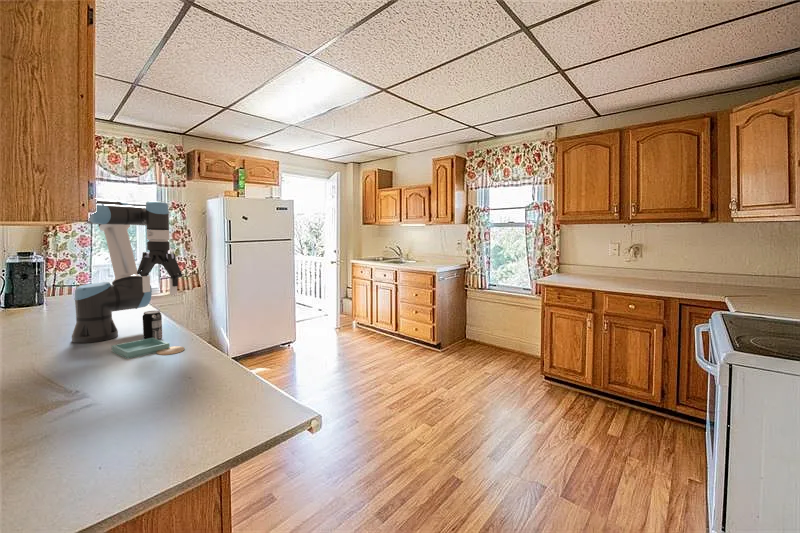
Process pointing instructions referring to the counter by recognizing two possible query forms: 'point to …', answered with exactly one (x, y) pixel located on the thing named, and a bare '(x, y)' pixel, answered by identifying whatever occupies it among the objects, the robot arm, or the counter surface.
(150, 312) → the beverage can
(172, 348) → the cork coaster
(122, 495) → the counter surface
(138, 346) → the tray
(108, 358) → the counter surface
